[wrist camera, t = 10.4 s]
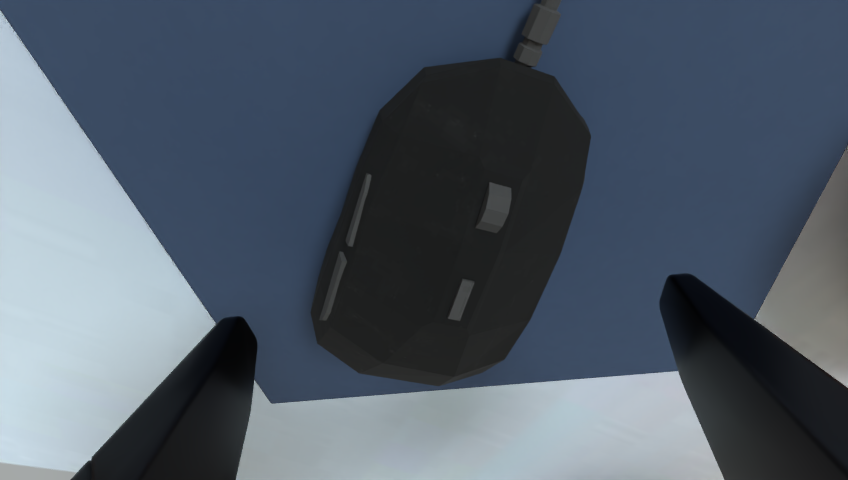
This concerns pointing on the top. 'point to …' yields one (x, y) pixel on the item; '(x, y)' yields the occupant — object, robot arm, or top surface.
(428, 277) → the gaming mouse
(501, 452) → the top surface
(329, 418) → the top surface
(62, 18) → the mouse mat
